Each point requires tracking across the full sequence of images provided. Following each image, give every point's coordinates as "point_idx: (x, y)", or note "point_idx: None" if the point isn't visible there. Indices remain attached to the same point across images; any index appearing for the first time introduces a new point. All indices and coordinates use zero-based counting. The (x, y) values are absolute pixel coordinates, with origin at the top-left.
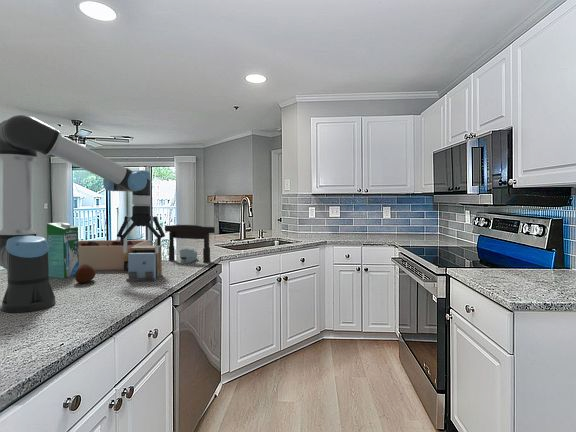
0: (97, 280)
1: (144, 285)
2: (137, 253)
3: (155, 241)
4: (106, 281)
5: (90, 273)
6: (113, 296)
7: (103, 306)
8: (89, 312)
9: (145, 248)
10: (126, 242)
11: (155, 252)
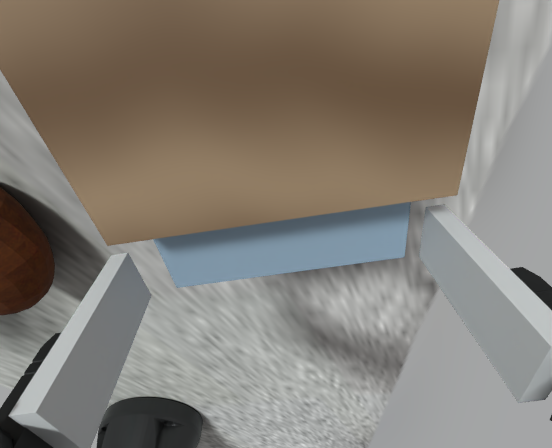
0: (38, 184)
1: None
2: (246, 261)
3: (495, 364)
4: None
5: (45, 277)
6: (290, 362)
7: (310, 408)
8: (302, 428)
9: (297, 213)
10: (89, 366)
11: (426, 263)
